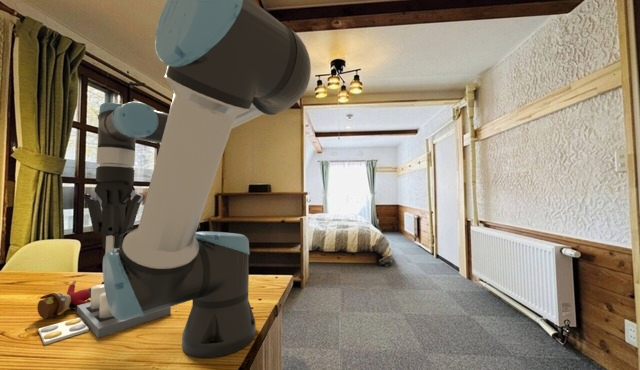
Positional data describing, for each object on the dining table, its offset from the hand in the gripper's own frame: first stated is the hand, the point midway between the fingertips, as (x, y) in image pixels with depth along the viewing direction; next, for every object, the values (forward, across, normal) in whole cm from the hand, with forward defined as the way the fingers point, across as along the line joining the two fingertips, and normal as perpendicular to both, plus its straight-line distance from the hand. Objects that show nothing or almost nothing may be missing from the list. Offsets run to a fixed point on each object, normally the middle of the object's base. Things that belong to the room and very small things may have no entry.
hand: (112, 261), depth 64 cm
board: (+15, 0, -5) cm, 16 cm away
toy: (+15, +15, -10) cm, 24 cm away
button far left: (+13, +6, -5) cm, 15 cm away
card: (+15, +8, +3) cm, 17 cm away
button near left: (+13, 0, 0) cm, 13 cm away
